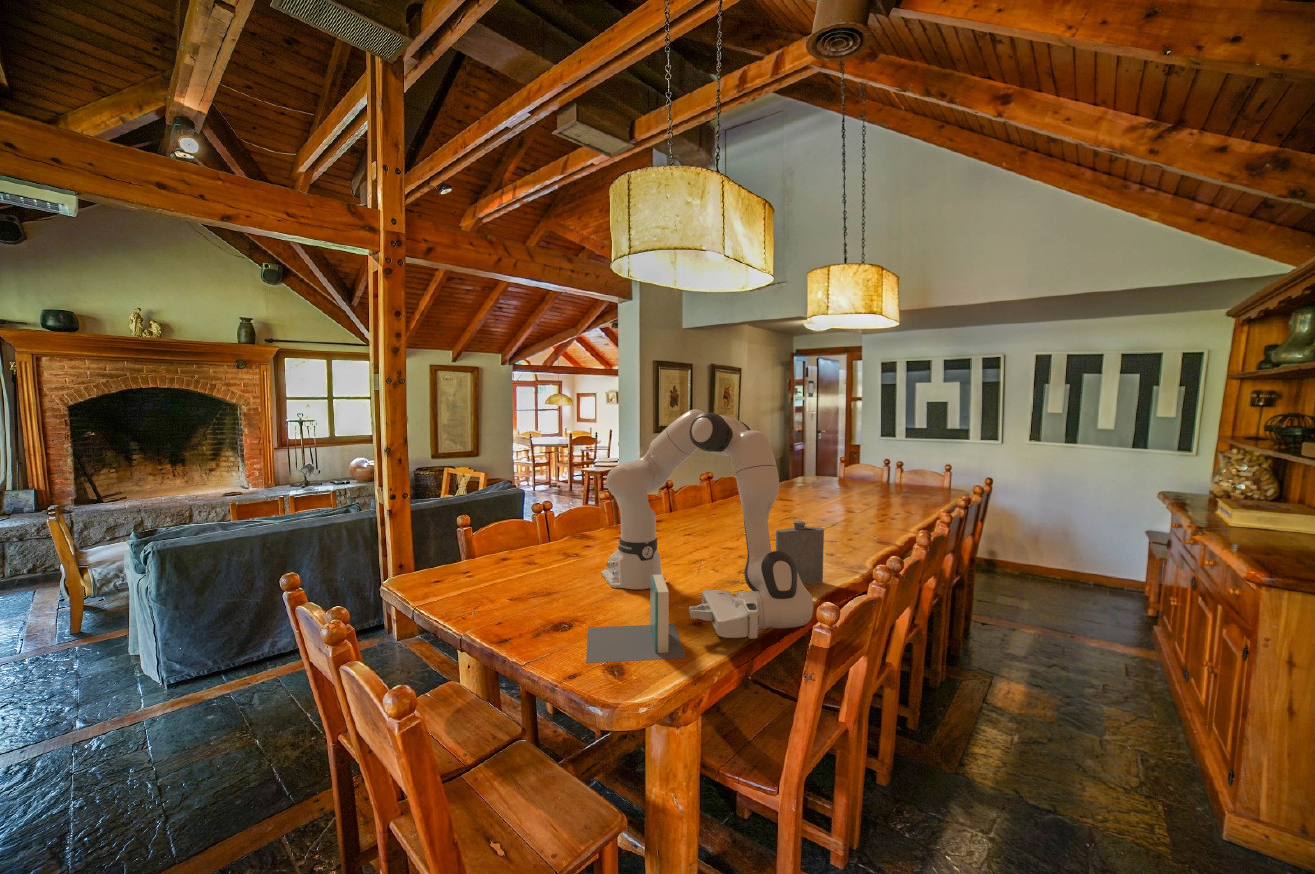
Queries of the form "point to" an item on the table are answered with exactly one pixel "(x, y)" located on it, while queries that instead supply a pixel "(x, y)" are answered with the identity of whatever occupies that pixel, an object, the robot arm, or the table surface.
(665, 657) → the mat
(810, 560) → the hip flask
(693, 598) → the table surface
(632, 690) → the table surface
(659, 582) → the tile
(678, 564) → the table surface
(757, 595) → the robot arm
